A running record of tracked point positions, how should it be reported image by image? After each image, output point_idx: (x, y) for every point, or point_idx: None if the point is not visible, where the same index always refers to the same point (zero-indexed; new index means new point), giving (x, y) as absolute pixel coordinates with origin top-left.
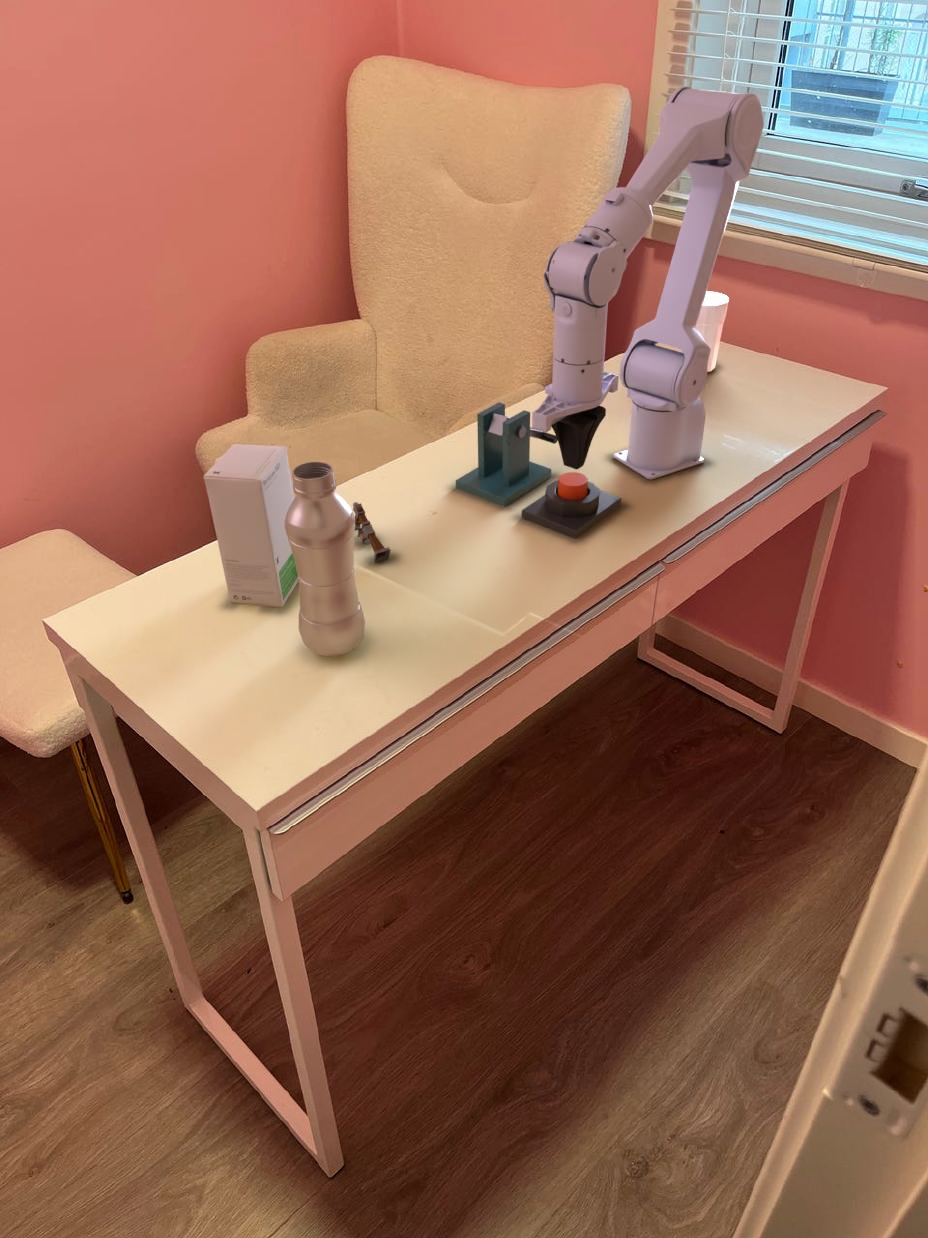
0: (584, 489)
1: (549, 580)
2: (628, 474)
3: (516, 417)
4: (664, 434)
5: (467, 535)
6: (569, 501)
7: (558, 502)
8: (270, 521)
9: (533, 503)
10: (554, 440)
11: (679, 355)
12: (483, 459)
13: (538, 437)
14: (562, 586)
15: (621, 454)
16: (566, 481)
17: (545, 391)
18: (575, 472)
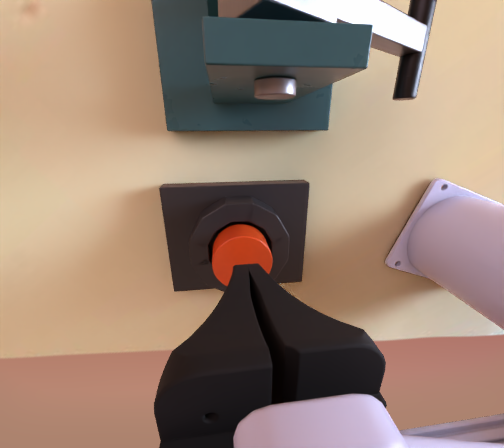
0: None
1: (67, 318)
2: (389, 228)
3: (285, 47)
4: (469, 304)
5: (38, 142)
6: (204, 270)
7: (190, 256)
8: None
9: (194, 189)
10: (398, 99)
11: None
12: None
13: (393, 53)
14: (72, 335)
15: (441, 190)
16: (225, 261)
17: (237, 442)
18: (269, 251)
